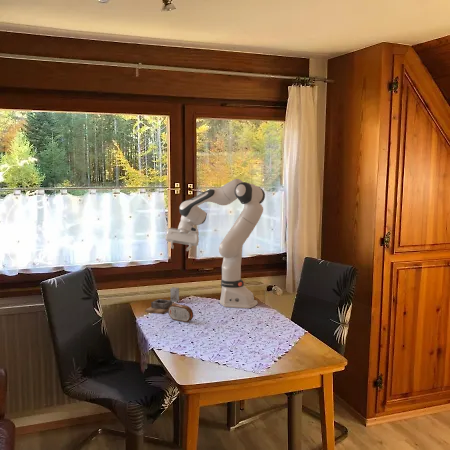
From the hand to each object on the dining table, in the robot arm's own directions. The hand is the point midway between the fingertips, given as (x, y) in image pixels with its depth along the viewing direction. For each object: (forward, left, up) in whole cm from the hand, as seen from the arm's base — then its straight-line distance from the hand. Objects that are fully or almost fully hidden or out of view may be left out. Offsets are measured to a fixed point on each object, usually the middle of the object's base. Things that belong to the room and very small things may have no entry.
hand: (179, 249), depth 297 cm
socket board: (-1, +24, -30) cm, 39 cm away
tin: (-21, +38, -30) cm, 53 cm away
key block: (-1, +9, -30) cm, 31 cm away
